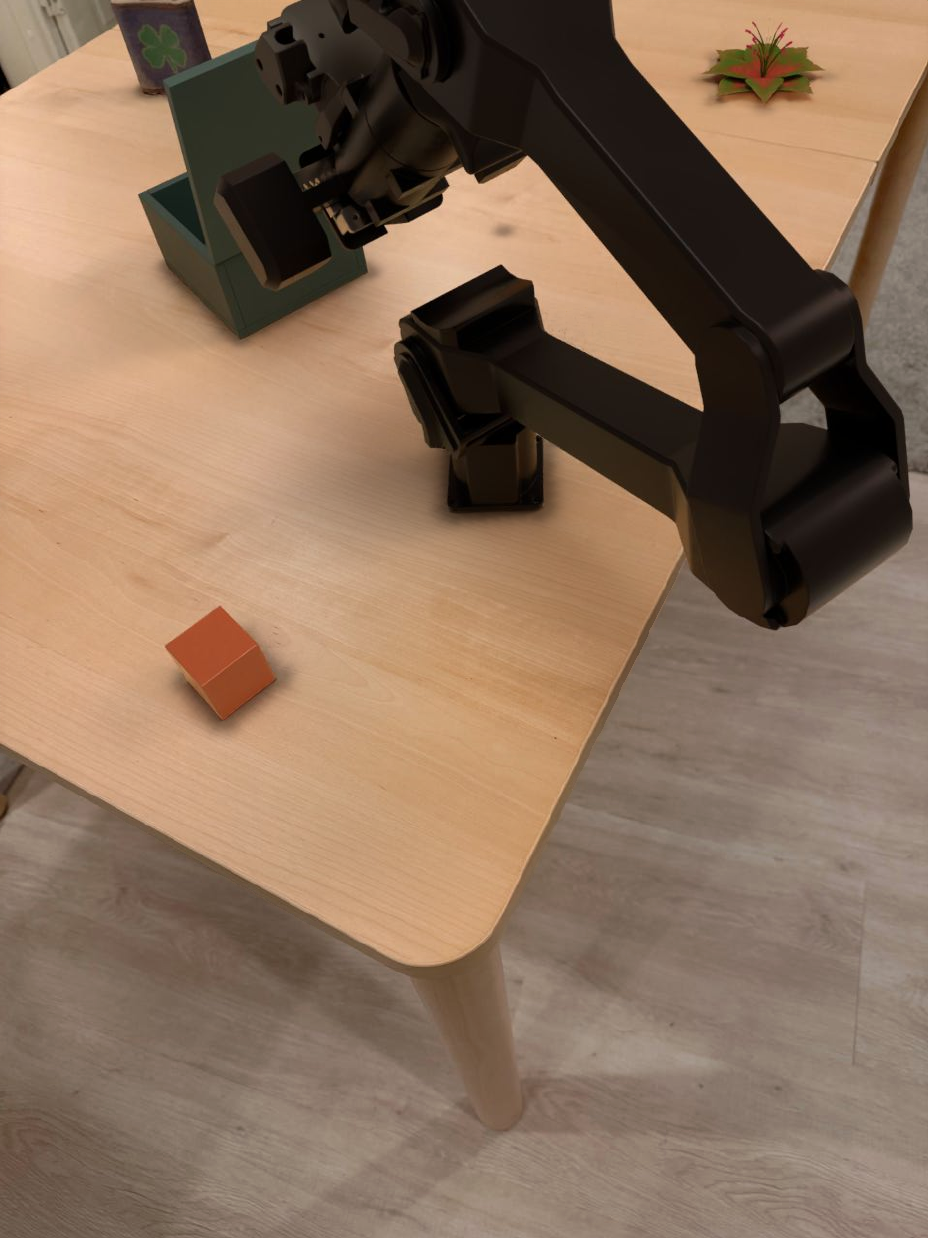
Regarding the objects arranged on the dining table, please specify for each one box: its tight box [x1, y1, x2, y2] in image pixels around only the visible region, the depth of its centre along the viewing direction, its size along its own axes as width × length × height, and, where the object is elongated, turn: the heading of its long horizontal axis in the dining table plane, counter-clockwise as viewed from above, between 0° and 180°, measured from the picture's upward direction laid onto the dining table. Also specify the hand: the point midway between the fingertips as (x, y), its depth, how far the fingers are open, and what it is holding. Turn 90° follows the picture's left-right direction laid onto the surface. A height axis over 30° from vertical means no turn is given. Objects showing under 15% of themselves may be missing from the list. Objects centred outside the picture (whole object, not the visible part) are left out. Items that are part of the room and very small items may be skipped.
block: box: [164, 605, 277, 721], centre depth 55 cm, size 4×4×4 cm
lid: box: [163, 39, 322, 264], centre depth 64 cm, size 14×13×1 cm
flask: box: [109, 0, 213, 95], centre depth 96 cm, size 9×3×11 cm, turn 76°
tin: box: [137, 171, 369, 340], centre depth 77 cm, size 14×13×7 cm
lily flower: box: [701, 17, 826, 106], centre depth 88 cm, size 12×12×5 cm
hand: (345, 220), depth 61 cm, fingers closed
